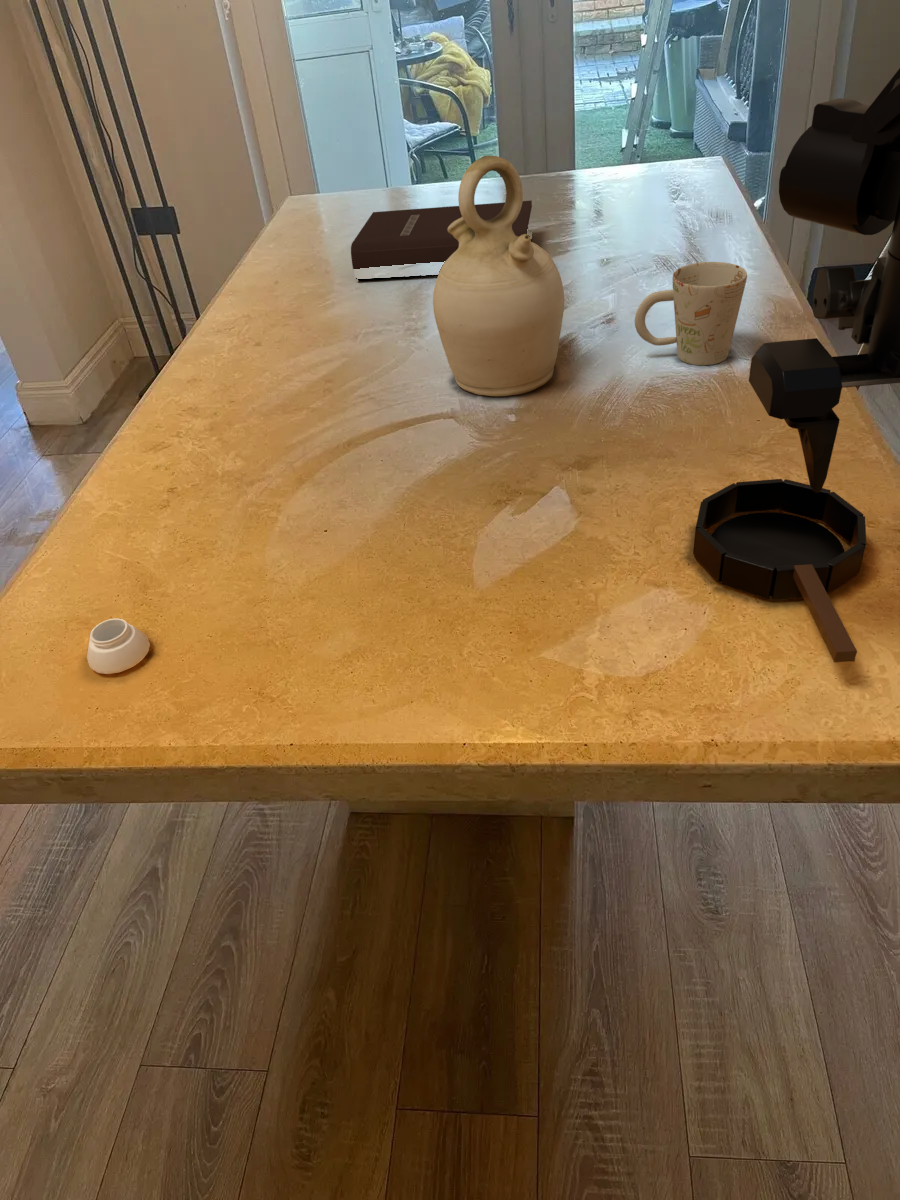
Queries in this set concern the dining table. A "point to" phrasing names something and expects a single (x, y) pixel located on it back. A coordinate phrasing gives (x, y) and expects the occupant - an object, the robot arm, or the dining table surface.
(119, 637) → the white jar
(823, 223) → the robot arm
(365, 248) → the book
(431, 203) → the dining table surface
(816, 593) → the frying pan
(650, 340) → the mug
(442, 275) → the jug
